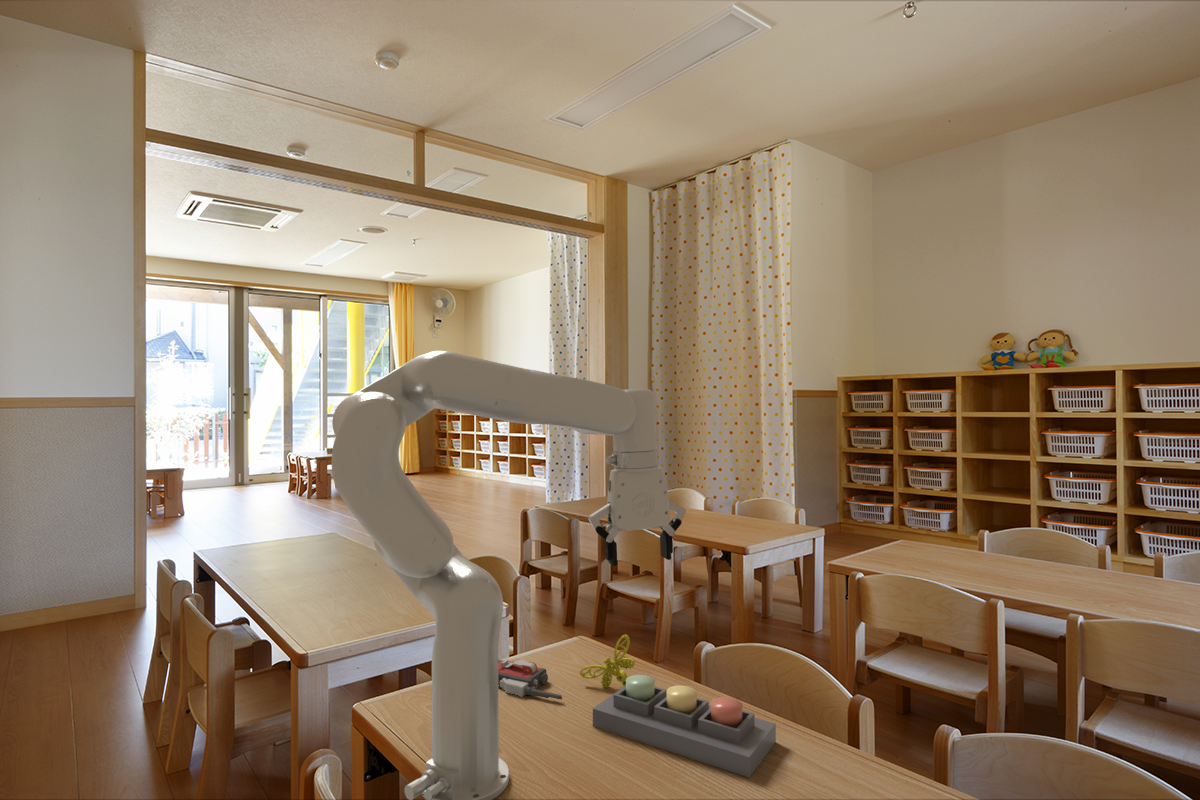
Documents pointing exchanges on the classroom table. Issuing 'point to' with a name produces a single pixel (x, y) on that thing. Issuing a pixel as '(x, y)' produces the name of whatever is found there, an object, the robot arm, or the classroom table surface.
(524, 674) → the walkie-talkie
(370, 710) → the classroom table surface
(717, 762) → the button panel
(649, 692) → the sage button
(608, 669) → the decorative insect
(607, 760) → the classroom table surface
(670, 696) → the mustard button
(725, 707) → the red button
